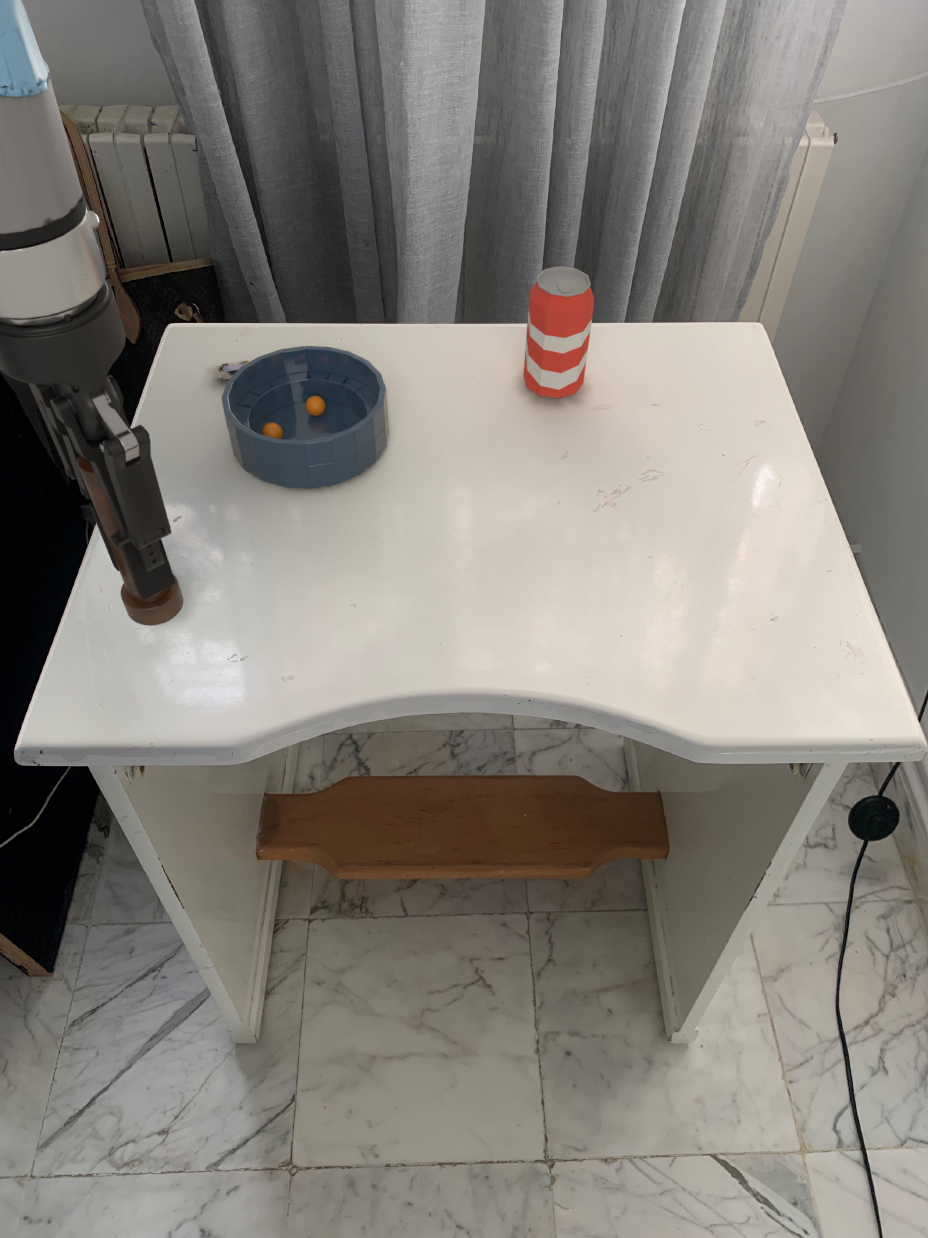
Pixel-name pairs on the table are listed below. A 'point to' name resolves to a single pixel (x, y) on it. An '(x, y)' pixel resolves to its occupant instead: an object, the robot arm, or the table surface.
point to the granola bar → (229, 369)
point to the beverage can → (558, 332)
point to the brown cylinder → (139, 610)
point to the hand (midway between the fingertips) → (144, 574)
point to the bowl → (307, 416)
